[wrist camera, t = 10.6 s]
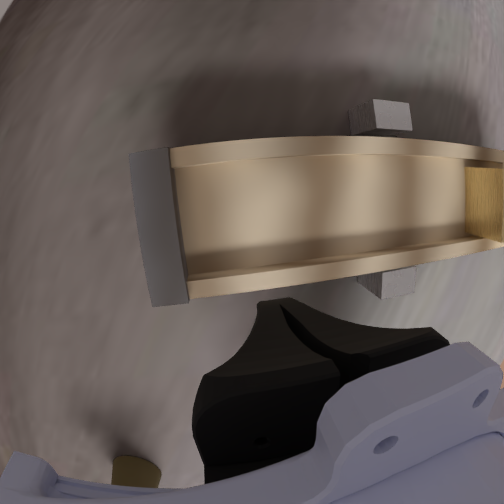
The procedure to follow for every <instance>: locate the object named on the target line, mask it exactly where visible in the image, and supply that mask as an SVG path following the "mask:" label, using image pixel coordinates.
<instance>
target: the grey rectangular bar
mask: <svg viewBox="0 0 504 504" xmlns="http://www.w3.org/2000/svg"><path fill="white" fill-rule="evenodd" d="M348 113H349V121H350V130H351V136H389V135H394V134H399V133H404V132H409V131H413V130H412V122H411V115H410V108H409V103H403V102H396V101H387V100H378V99H372V100H370V101H367V102H365V103H363V104H361V105H359V106H357V107H355V108H352V109H350V110H348ZM415 277H416V266H414V265H413V266H407V267H402V268H397V269H391V270H386V271H380V272H374V273H369V274H363V275H358V283H360V284H361V285H362V286H364V287H365V288H366V289H368V290H369V291H370V292H372V293H373V294H374V295H376V296H377V297H378V298H379V299H381V300H383V299H387V298H392V297H396V296H401V295H405V294H410V293H414V289H415Z"/></svg>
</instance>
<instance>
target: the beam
mask: <svg viewBox="0 0 504 504" xmlns="http://www.w3.org/2000/svg"><path fill="white" fill-rule="evenodd" d="M129 162H130V173H131V182H132V191H133V199H134V207H135V214H136V221H137V228H138V234H139V240H140V246H141V252H142V258H143V263H144V268H145V274H146V279H147V284H148V288H149V293H150V298H151V302H152V307H158V306H167V305H177V304H186V303H189V300H190V299H193V298H202V297H211V296H219V295H227V294H235V293H243V292H250V291H258V290H265V289H272V288H279V287H286V286H293V285H300V284H307V283H313V282H320V281H326V280H332V279H339V278H345V277H351V276H357V275H363V274H369V273H374V272H380V271H386V270H391V269H397V268H402V267H407V266H413V265H418V264H423V263H428V262H433V261H439V260H443V259H448V258H453V257H458V256H463V255H468V254H472V253H477V252H481V251H486V250H490V249H495V248H499V247H504V242H503V243H500V242H497V241H493V240H490V239H487V238H483V237H480V236H477V235H473V234H470V233H466V232H465V172H464V167H475V168H498V169H504V151H502V150H496V149H491V148H485V147H479V146H472V145H465V144H458V143H449V142H441V141H431V140H420V139H408V138H397V136H381V137H371V136H298V137H275V138H259V139H246V140H234V141H224V142H215V143H206V144H198V145H190V146H183V147H176V148H168V147H165V148H159V149H153V150H147V151H141V152H136V153H131V154H129Z"/></svg>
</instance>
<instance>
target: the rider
mask: <svg viewBox="0 0 504 504" xmlns="http://www.w3.org/2000/svg"><path fill="white" fill-rule="evenodd" d="M464 172H465V232H466V233H470V234H473V235H477V236H480V237H483V238H487V239H490V240H493V241H497V242H500V243H503V242H504V169H498V168H475V167H464Z"/></svg>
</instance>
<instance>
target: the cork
mask: <svg viewBox="0 0 504 504" xmlns="http://www.w3.org/2000/svg"><path fill="white" fill-rule="evenodd" d="M161 475H162V474H161V471H160V470H159V468H158V467H157V466H155V465H154V464H153V463H151V462H149V461H147V460H145V459H141V458H138V457H133V456H120V457H117V458H115V459H114V461H113V470H112V482H111V485H119V486H129V487H143V488H158V485H159V482H160V479H161Z"/></svg>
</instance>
